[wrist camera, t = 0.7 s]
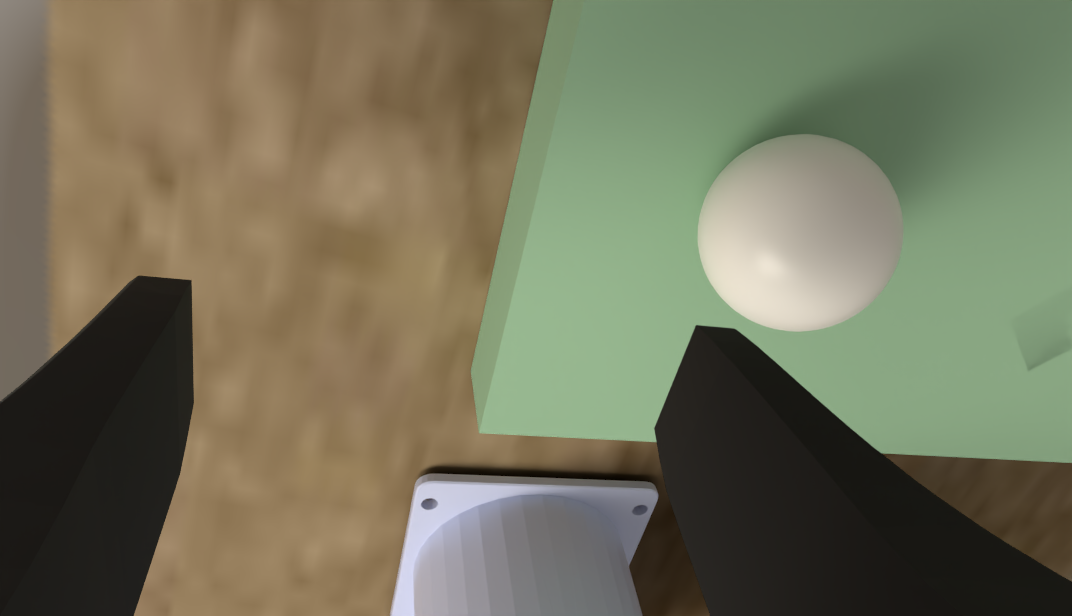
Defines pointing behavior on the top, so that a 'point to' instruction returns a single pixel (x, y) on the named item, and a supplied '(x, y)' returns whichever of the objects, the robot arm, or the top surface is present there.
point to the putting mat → (749, 119)
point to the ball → (800, 232)
